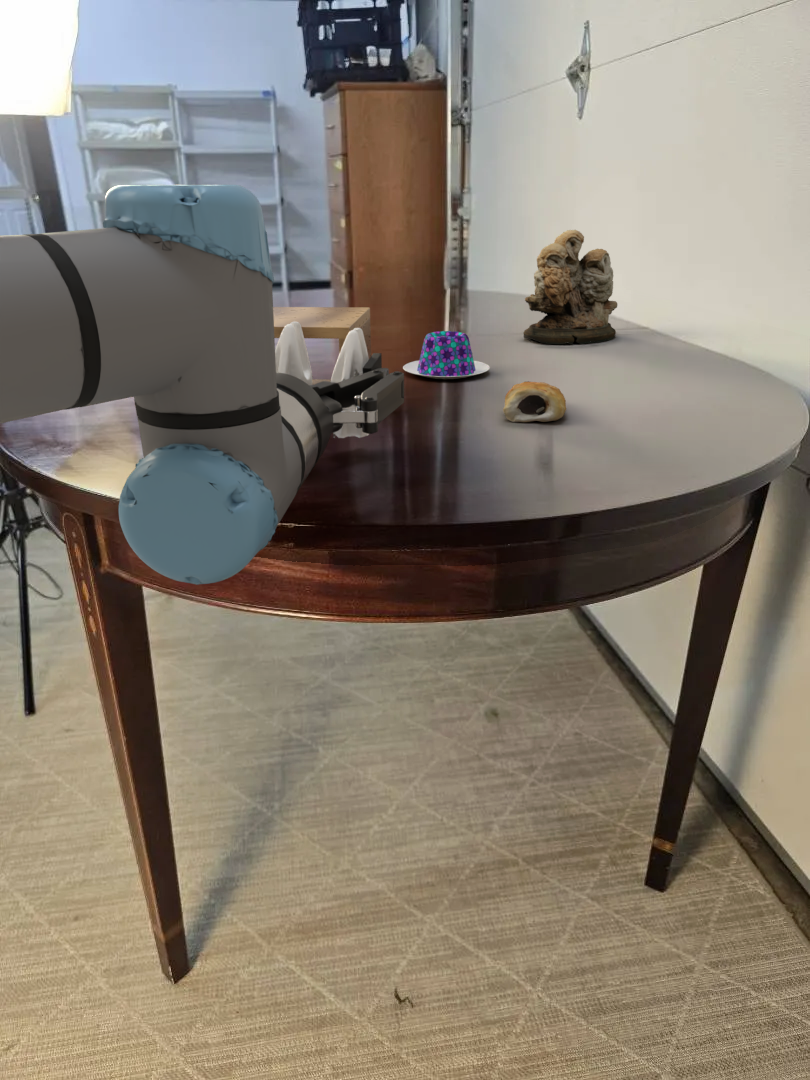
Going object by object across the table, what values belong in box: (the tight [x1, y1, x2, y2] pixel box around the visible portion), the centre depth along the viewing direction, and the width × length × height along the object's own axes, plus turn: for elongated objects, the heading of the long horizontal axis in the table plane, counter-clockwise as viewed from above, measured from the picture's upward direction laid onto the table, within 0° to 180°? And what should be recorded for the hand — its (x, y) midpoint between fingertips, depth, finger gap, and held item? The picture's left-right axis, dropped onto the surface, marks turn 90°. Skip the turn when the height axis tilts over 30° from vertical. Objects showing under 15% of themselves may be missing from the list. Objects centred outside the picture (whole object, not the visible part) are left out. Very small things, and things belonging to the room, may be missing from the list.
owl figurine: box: [523, 229, 618, 345], centre depth 127 cm, size 18×12×17 cm, turn 120°
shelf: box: [273, 306, 372, 385], centre depth 92 cm, size 24×15×10 cm, turn 84°
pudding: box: [402, 330, 491, 380], centre depth 106 cm, size 12×12×5 cm
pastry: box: [502, 380, 567, 423], centre depth 87 cm, size 9×7×4 cm
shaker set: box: [275, 322, 370, 439], centre depth 69 cm, size 12×4×11 cm, turn 130°
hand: (330, 366), depth 73 cm, fingers closed on shaker set, 8 cm apart
